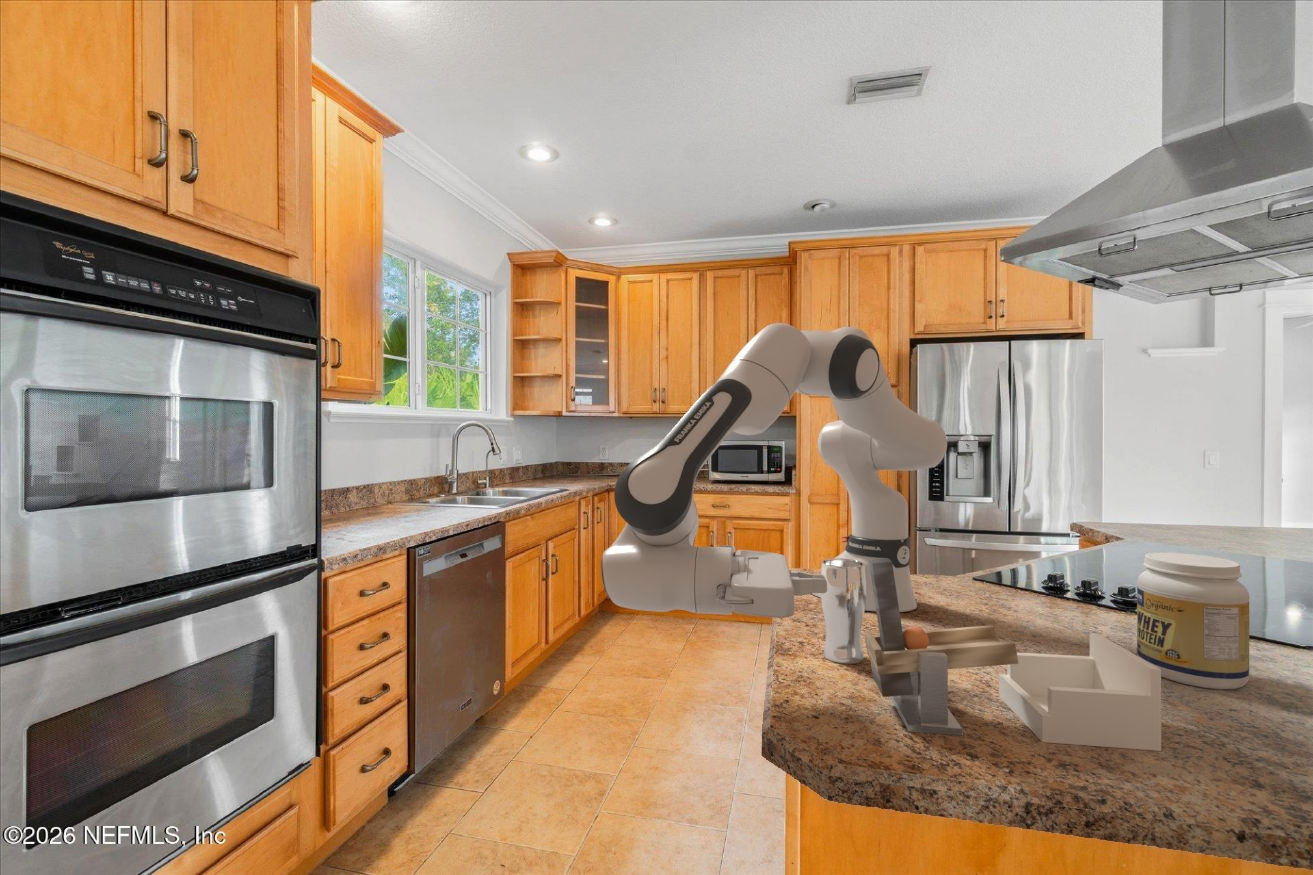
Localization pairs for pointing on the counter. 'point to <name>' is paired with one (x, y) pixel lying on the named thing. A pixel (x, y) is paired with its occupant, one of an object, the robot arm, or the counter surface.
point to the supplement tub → (1194, 620)
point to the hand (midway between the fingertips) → (826, 583)
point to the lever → (956, 643)
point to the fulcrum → (928, 697)
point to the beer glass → (843, 609)
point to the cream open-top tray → (1087, 697)
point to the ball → (915, 638)
